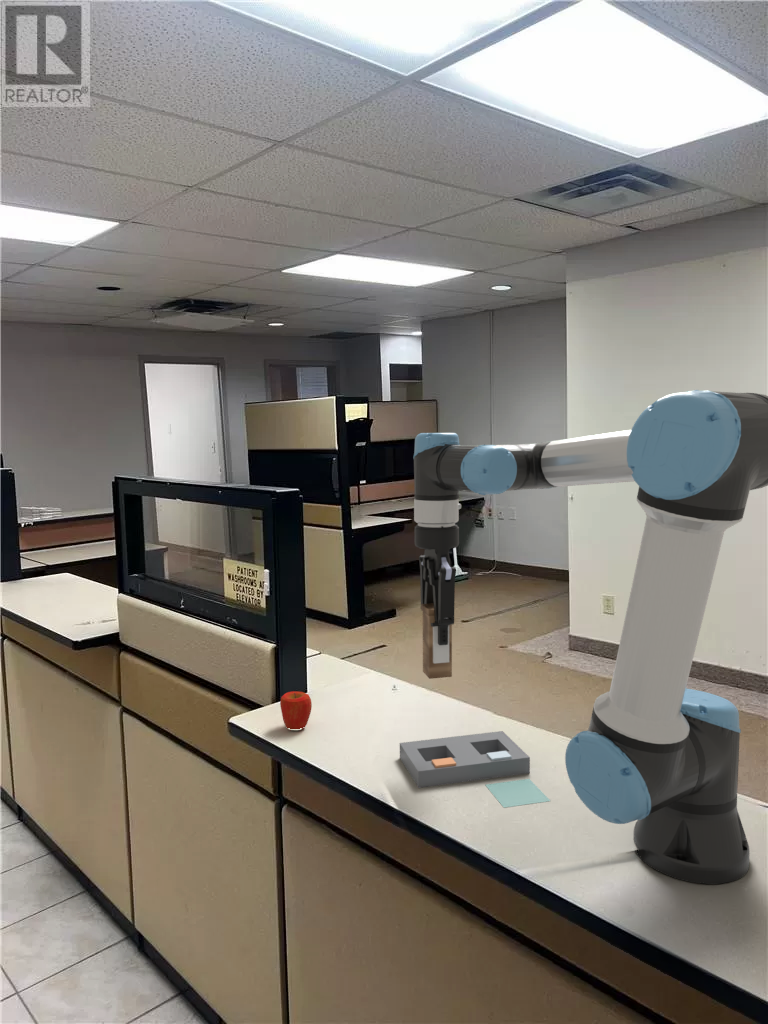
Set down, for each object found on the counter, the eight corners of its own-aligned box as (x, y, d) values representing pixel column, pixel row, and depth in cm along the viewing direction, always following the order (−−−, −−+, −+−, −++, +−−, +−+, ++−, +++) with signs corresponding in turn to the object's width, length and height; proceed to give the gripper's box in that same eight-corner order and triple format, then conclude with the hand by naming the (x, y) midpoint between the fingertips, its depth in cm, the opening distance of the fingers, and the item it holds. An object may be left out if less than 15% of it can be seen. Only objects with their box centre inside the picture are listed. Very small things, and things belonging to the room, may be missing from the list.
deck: (550, 807, 118) (550, 800, 118) (503, 814, 117) (503, 807, 116) (529, 785, 126) (529, 778, 126) (485, 791, 124) (485, 784, 124)
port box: (529, 779, 128) (529, 755, 128) (418, 794, 124) (418, 769, 123) (502, 751, 140) (502, 728, 140) (399, 764, 135) (399, 740, 135)
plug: (453, 677, 127) (453, 608, 126) (428, 679, 126) (428, 610, 125) (445, 669, 132) (445, 602, 130) (421, 671, 131) (421, 604, 129)
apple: (315, 723, 155) (315, 689, 154) (305, 735, 149) (304, 699, 148) (287, 721, 157) (286, 687, 156) (276, 732, 151) (275, 697, 150)
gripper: (475, 529, 119) (474, 671, 121) (442, 517, 135) (442, 642, 138) (430, 531, 117) (430, 675, 119) (402, 519, 133) (403, 646, 136)
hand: (436, 657), depth 129 cm, fingers closed on plug, 4 cm apart
